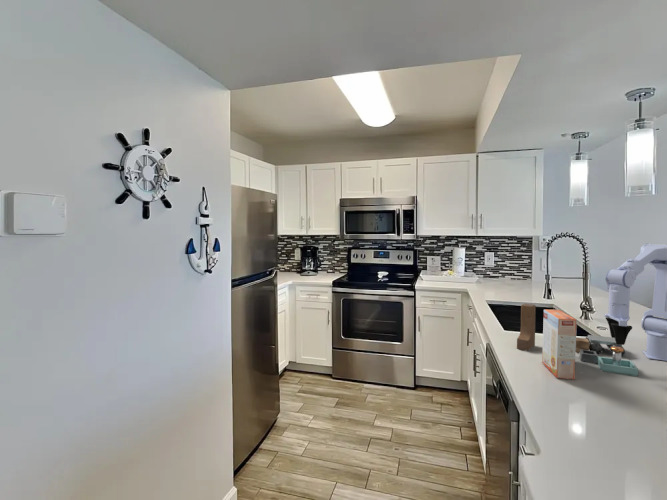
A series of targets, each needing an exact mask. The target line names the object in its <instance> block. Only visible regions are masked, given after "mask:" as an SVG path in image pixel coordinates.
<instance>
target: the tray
mask: <svg viewBox="0 0 667 500" xmlns="http://www.w3.org/2000/svg"><path fill="white" fill-rule="evenodd" d="M612 361H613V357H605V356H598V363H597V365H598V367H599V369H600V371H601V372H606V373H612V374H620V375H627V376H628V375H629V376H634V377H638V376H639V368H638V367H637V366H636V365H635V363H634V362H633V361H632V360H628V359H627V360H626V359H621V366H617V365H612Z"/></svg>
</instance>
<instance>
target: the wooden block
mask: <svg viewBox="0 0 667 500" xmlns="http://www.w3.org/2000/svg"><path fill="white" fill-rule="evenodd" d="M535 346H536V304H532V303H523V304H521V305H520V332H519V336H518V337H517V338H516V349H518V350H521V351H526V352H527V351H530V350H531V349H532V348H534V347H535Z"/></svg>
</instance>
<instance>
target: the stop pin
mask: <svg viewBox="0 0 667 500" xmlns="http://www.w3.org/2000/svg"><path fill="white" fill-rule="evenodd" d="M623 348H624V347H623ZM623 348H621V347H616V346H612V347H611V350H613V354H612V358H613V361H612V365H617V366H621V360H622V356H621V352H624V350H625V348H624V349H623Z"/></svg>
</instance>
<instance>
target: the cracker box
mask: <svg viewBox="0 0 667 500" xmlns="http://www.w3.org/2000/svg"><path fill="white" fill-rule="evenodd" d="M542 323H543V324H542V325H543V326H542V327H543V328H542V329H543V330H542V354H541V356H542V359H541V360H542V361H541V363H542V364H543V365H544V366H545V367H546V368H547V369H548V371H550V373H551V374H552V376H554V377H555V378H556V379H567V380H575V378H576V377H575V373H576V370H575V369H576V352H575V351H576V338H577V332H576V325H578V324H577V323H578V321H577V318H574V317H572V316H571V315H569V314H567V313H565V312H564V311H563V310H560V309H543V322H542Z"/></svg>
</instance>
